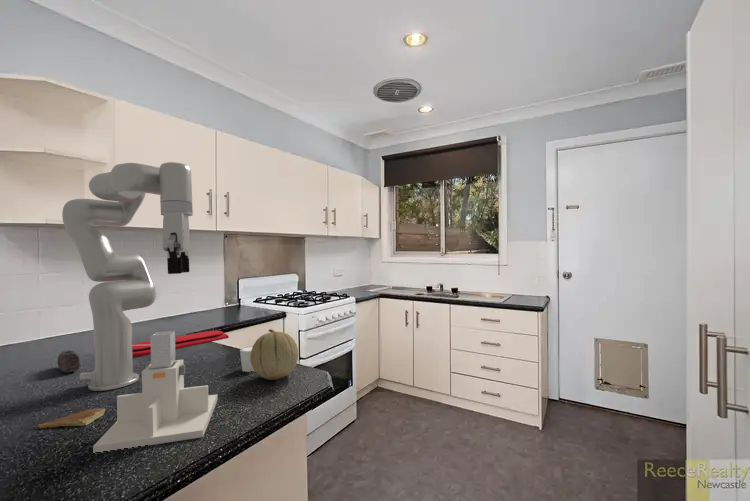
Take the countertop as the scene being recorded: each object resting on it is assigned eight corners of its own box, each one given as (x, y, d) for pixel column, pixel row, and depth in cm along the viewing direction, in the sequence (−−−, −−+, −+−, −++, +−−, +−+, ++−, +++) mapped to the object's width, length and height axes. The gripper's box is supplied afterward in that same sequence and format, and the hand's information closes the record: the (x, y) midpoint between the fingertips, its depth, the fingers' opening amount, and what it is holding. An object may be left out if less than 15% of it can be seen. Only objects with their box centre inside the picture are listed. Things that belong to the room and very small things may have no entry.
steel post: (151, 415, 80) (150, 336, 80) (157, 407, 84) (156, 332, 84) (171, 412, 81) (170, 334, 81) (176, 405, 85) (175, 330, 85)
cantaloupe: (273, 390, 100) (272, 338, 100) (240, 381, 108) (239, 333, 108) (308, 374, 113) (308, 328, 113) (277, 367, 120) (276, 324, 121)
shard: (36, 430, 81) (36, 422, 81) (64, 415, 89) (64, 408, 89) (85, 428, 81) (84, 420, 81) (108, 413, 89) (108, 406, 89)
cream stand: (93, 453, 70) (91, 386, 70) (132, 410, 89) (131, 357, 89) (203, 437, 75) (201, 374, 75) (217, 399, 95) (216, 349, 95)
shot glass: (254, 373, 116) (254, 351, 116) (235, 372, 117) (235, 351, 117) (265, 366, 122) (264, 346, 122) (247, 365, 124) (247, 345, 124)
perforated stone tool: (54, 367, 126) (54, 348, 126) (73, 364, 130) (73, 345, 130) (61, 377, 116) (60, 356, 116) (81, 372, 120) (81, 352, 120)
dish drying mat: (229, 339, 165) (229, 331, 165) (125, 361, 134) (125, 351, 134) (213, 334, 175) (213, 327, 175) (114, 354, 144) (114, 344, 144)
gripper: (169, 214, 102) (171, 272, 101) (151, 204, 85) (154, 275, 85) (197, 213, 104) (199, 271, 104) (186, 204, 88) (188, 273, 87)
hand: (179, 273), depth 94 cm, fingers open, 9 cm apart
